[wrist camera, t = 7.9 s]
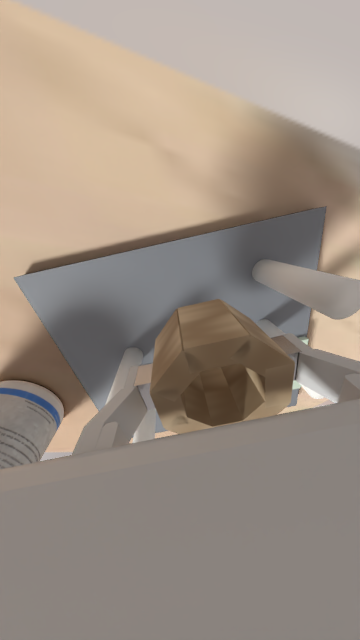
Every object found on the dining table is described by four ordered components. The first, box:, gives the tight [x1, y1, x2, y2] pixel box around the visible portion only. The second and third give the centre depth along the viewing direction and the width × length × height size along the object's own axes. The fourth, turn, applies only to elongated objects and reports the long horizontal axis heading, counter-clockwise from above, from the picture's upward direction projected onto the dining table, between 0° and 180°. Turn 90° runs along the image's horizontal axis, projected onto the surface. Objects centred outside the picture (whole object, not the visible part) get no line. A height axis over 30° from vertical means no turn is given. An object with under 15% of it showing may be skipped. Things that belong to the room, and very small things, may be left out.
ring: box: [150, 299, 295, 434], centre depth 9 cm, size 6×6×4 cm
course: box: [14, 206, 360, 443], centre depth 16 cm, size 24×26×9 cm
